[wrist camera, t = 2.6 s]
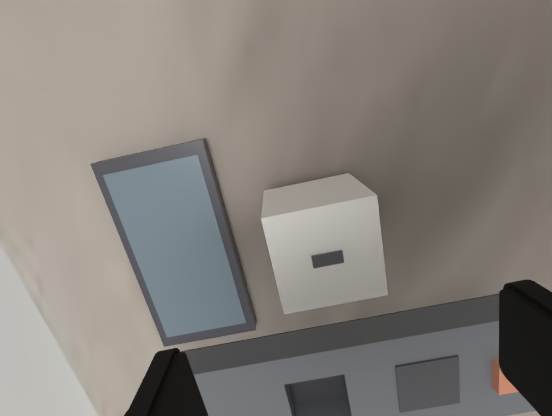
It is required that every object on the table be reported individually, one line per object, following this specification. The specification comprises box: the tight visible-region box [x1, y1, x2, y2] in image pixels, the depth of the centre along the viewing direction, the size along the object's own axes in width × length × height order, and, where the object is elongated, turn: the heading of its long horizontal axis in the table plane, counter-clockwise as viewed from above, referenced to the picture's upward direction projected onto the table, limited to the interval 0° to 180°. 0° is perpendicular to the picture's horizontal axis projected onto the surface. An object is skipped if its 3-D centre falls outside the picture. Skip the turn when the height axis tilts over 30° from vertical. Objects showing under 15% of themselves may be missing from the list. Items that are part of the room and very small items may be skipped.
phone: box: [91, 138, 256, 347], centre depth 20 cm, size 7×14×1 cm, turn 12°
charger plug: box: [261, 173, 388, 314], centre depth 17 cm, size 5×5×7 cm
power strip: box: [183, 294, 536, 416], centre depth 22 cm, size 33×9×3 cm, turn 102°
